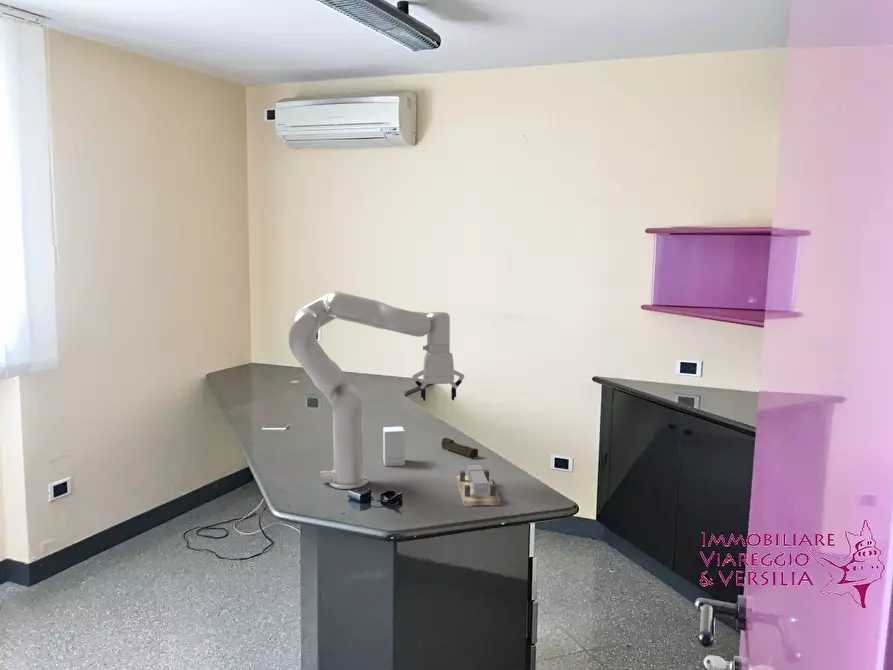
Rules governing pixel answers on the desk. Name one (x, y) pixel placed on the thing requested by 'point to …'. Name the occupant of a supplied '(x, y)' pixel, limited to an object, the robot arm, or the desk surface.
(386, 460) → the supplement box
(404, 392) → the desk surface
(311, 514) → the desk surface
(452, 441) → the hand tool
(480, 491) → the light grey long block
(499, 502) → the board
